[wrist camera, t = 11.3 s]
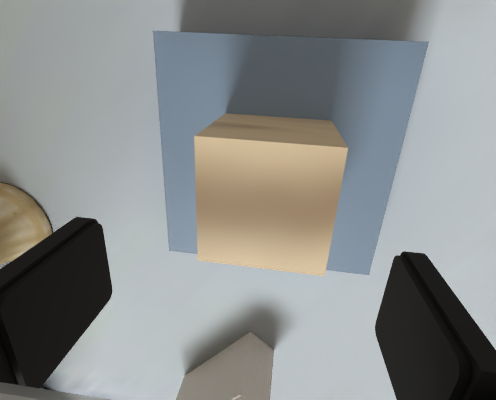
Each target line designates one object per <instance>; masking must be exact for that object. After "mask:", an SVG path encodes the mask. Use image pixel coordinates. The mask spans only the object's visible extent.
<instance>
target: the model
mask: <svg viewBox="0 0 496 400" xmlns="http://www.w3.org/2000/svg"><path fill="white" fill-rule="evenodd" d="M273 354H274V350H273V349H271V348H270V347H269V346H268V345H267V344H265V343H264V342H263V341H262V340H260V339H259V338H258V337H257V336H256V335H254V334H253V333H252V332H251V331H250V332H249V333H247V334H246V335H244V336H243V337H241V338H240V339H238V340H237V341H236V342H234V343H233V344H231V345H230V346H228V347H227V348H225V349H224V350H222V351H221V352H219V353H218V354H216V355H215V356H213V357H212V358H210V359H209V360H207V361H206V362H204V363H203V364H201V365H200V366H198V367H197V368H195V369H194V370H192V371H191V372H189V373H188V374H186V375H185V376H184V379H183V382H182V384H181V387H180V390H179V393H178V396H177V398H176V400H270V392H271V379H272V367H273Z"/></svg>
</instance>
